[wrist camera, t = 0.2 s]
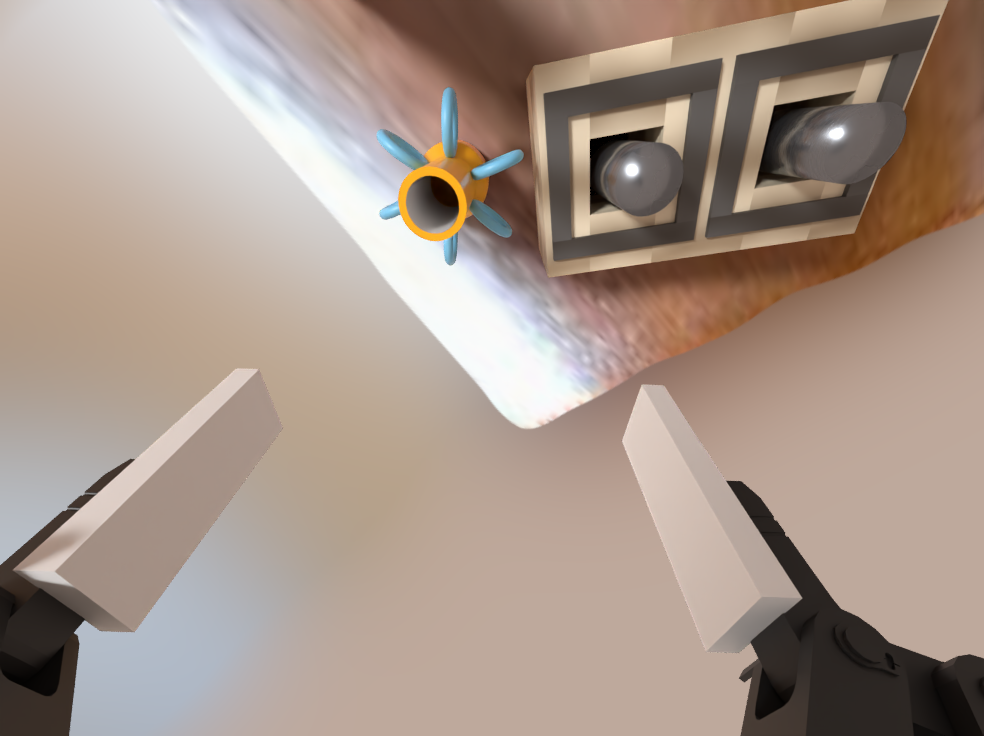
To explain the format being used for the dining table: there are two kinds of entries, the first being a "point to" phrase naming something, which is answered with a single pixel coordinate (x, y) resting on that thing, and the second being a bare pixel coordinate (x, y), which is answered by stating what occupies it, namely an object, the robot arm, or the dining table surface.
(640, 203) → the peg
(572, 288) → the dining table surface
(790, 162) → the peg
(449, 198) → the ringed orange tube
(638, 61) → the socket block
